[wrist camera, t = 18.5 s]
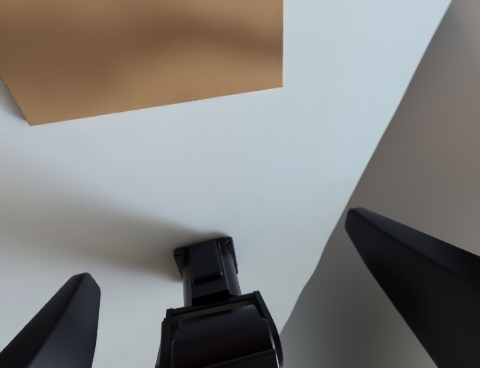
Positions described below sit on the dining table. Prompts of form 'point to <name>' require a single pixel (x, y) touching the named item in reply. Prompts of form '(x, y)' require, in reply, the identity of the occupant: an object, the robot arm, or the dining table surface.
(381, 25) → the dining table surface
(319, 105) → the dining table surface
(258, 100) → the dining table surface
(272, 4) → the wooden board
